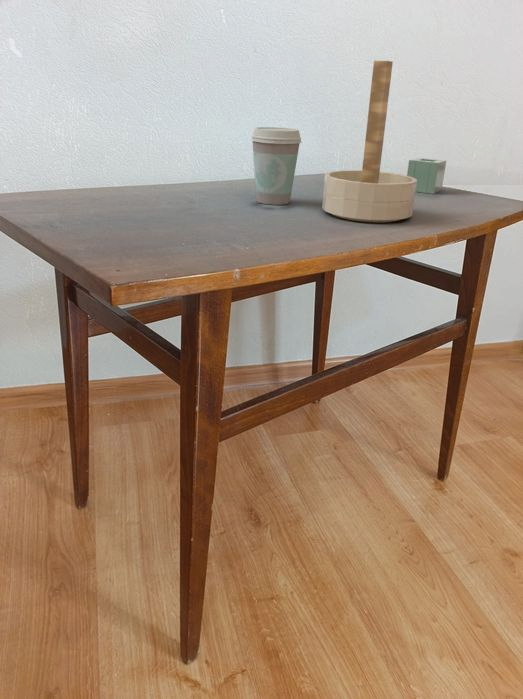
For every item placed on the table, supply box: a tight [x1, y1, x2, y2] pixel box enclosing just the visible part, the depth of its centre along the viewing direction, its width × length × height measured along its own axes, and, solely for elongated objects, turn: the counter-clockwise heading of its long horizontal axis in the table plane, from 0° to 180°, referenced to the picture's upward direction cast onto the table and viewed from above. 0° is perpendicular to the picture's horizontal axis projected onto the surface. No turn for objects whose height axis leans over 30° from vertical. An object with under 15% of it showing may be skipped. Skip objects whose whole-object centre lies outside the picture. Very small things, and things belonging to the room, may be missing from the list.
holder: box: [406, 157, 447, 195], centre depth 121 cm, size 6×6×6 cm
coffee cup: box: [250, 126, 302, 206], centre depth 101 cm, size 8×8×12 cm
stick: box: [361, 60, 394, 183], centre depth 92 cm, size 2×2×22 cm
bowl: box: [321, 169, 417, 223], centre depth 95 cm, size 14×14×6 cm
